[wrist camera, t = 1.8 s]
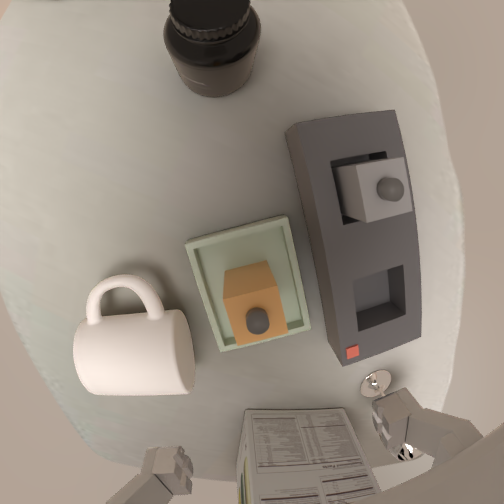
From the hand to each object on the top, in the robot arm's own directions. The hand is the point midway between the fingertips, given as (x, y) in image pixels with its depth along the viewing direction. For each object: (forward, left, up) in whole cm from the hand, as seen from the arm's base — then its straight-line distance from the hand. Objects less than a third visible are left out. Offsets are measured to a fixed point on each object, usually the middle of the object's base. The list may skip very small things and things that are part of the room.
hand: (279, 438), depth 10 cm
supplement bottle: (-21, +2, -20) cm, 29 cm away
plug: (0, 0, -19) cm, 19 cm away
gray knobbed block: (-7, +11, -18) cm, 22 cm away
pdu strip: (-2, +11, -19) cm, 22 cm away
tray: (0, 0, -19) cm, 19 cm away
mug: (+1, -12, -20) cm, 23 cm away
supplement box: (+24, -1, -20) cm, 31 cm away
